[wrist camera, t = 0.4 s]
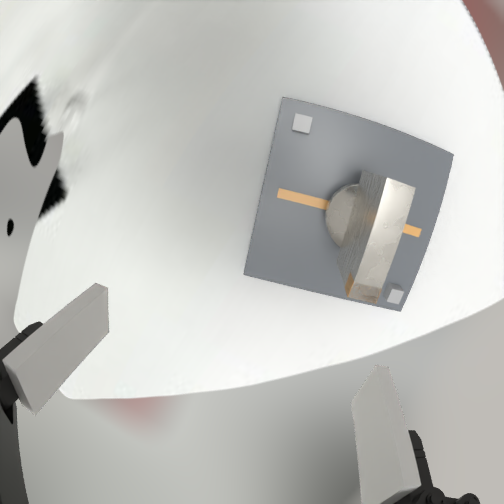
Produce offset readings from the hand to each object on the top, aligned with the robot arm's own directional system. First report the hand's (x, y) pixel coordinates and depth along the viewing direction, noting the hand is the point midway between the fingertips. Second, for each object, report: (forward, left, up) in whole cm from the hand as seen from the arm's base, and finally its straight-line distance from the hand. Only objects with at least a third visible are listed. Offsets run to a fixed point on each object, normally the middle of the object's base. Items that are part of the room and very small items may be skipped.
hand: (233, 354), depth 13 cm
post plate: (-4, +10, -27) cm, 29 cm away
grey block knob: (-4, +10, -24) cm, 26 cm away
